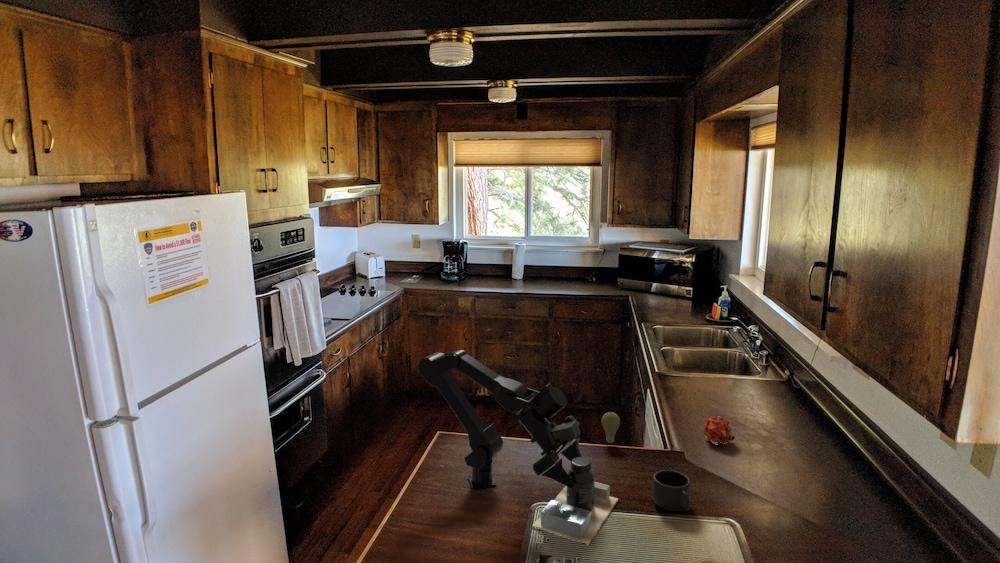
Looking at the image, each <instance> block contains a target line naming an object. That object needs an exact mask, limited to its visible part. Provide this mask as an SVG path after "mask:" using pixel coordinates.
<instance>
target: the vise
mask: <svg viewBox="0 0 1000 563" xmlns="http://www.w3.org/2000/svg"><path fill="white" fill-rule="evenodd" d="M610 490H611V489H610V484H609V485H608V484H606V483H601V482H597V481H595V489H594V507H593V509H592V510H591V525H590V527H589V528H588V529H587V531H586V532H585V534H584V535H583V537H582V538H577V537H574V536H571V535H568V534H565V533H562V532H559V531H555V530H552V529H549V528H546V527H543V526H541V515H540V516H539V517H538V518H537V519H536V520H535V522H533V524H532V526H534V527H536V528H539V529H541V530H545V531H549V532H552V533H554V534H557V535H561V536H564V537H566V538H569V539H572V540H575V541H579V542H582V543H585V544H588V545H589V544H591V543H592V542H591V541H593V540H594V538H595V537H596V535H597V534H598V532H599V531H600V529H601V528H600V527H602V526H603V525H604V523H605V522H606V520H607V519H608V517H609V515H610V514H611V512H612V510H613V509H614V508H615V506H616V504H617V503H618V502H619V498H618V497H615V496H611V495H610ZM566 491H567V486H565V485H564V488H562V490H560V492H559V493H558V494H557V496H556V497H555V498H554V499H553V500H554V501H558V502H561V503H564V504H566ZM604 521H605V522H604ZM602 524H603V525H602ZM532 526H531V527H532ZM541 530H540V531H541ZM598 530H599V531H598ZM597 531H598V532H597ZM596 533H597V534H596ZM554 534H553V535H554ZM557 535H556V536H557ZM594 536H595V537H594ZM566 538H565V539H566ZM569 539H568V540H569ZM592 539H593V540H592ZM572 540H571V541H572ZM575 541H574V542H575ZM590 542H591V543H590ZM585 544H584V545H585ZM588 545H587V546H588ZM589 546H590V545H589Z"/></svg>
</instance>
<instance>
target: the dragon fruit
mask: <svg viewBox="0 0 1000 563" xmlns="http://www.w3.org/2000/svg"><path fill="white" fill-rule="evenodd" d="M703 430H704V431H703V435H704V434H705V435H706V436H707V437H708V438H709V439H710V440H712V441H714V442H721V443H722V444H725V445H726V444H728V441H731V442H732V441H734V440H735V438H736V436H735V435H733V433H732V431H733V429H732V427H731V426H730V421H729V420H726V419H724V418H723V417H722V416H719V415H718V416H712V417H709V418H708V419H707V420H706V421H705V422H704V425H703ZM709 439H708V440H709ZM710 440H709V441H710ZM726 440H727V441H726ZM722 444H721V445H722Z"/></svg>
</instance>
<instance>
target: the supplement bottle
mask: <svg viewBox="0 0 1000 563" xmlns="http://www.w3.org/2000/svg"><path fill="white" fill-rule="evenodd" d="M566 473H567V474H568V476H569V477H570V479H571V480H572V482H573V484H574V487H572V488H569V487H567V491H566V504H568V505H571V506H575V507H578V508H582V509H585V510H588V511H591V510H592V509H593V507H594V489H595V482H596V481H595V480H596V476H595V472H594V471H593V470H592V461H591V459H589V458H587V457H584V456H582V457H576V458H573V459H572V461H570V469H568V470H567V471H566Z"/></svg>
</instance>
